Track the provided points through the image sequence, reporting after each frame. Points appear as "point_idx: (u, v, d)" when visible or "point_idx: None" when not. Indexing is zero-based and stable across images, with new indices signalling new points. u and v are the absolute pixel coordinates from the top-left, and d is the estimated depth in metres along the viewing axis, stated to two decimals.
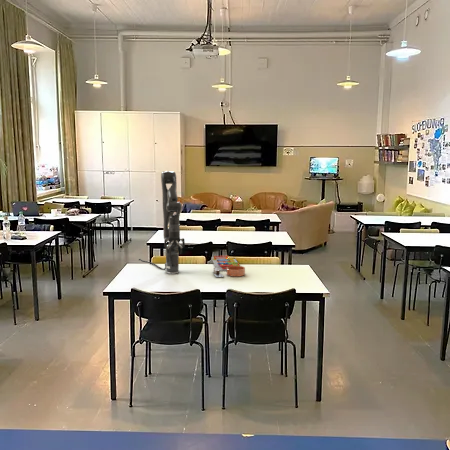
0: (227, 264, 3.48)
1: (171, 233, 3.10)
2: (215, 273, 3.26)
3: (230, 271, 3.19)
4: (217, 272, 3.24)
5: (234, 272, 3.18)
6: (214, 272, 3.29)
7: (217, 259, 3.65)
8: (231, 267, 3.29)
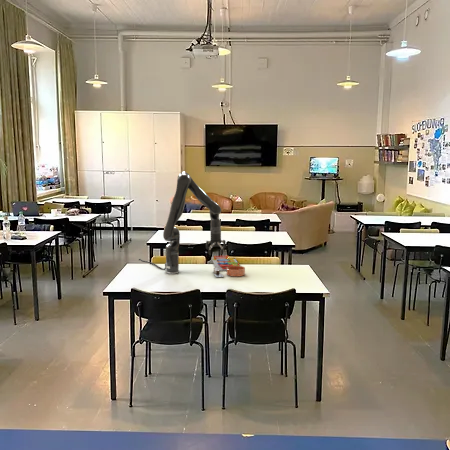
0: (227, 264, 3.48)
1: (213, 235, 3.21)
2: (215, 273, 3.26)
3: (230, 271, 3.19)
4: (217, 272, 3.24)
5: (234, 272, 3.18)
6: (214, 272, 3.29)
7: (217, 259, 3.65)
8: (231, 267, 3.29)
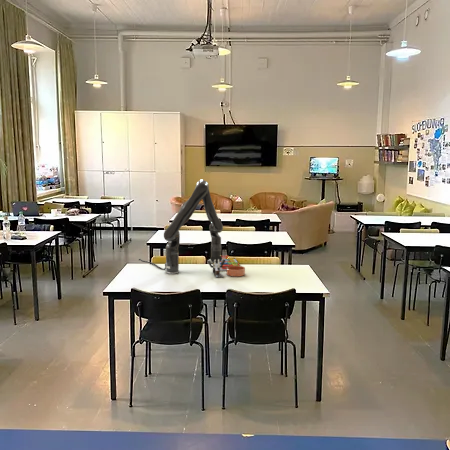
0: (227, 264, 3.48)
1: (213, 252, 3.23)
2: (215, 273, 3.26)
3: (230, 271, 3.19)
4: (217, 272, 3.24)
5: (234, 272, 3.18)
6: None
7: None
8: (231, 267, 3.29)
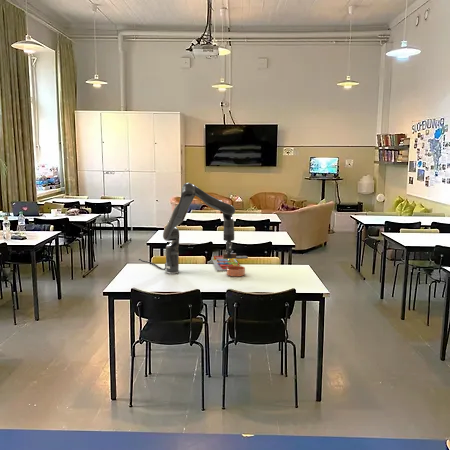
0: (227, 264, 3.48)
1: (233, 235, 3.10)
2: (232, 257, 3.14)
3: (230, 271, 3.19)
4: None
5: (234, 272, 3.18)
6: (227, 258, 3.13)
7: (217, 259, 3.65)
8: (231, 267, 3.29)
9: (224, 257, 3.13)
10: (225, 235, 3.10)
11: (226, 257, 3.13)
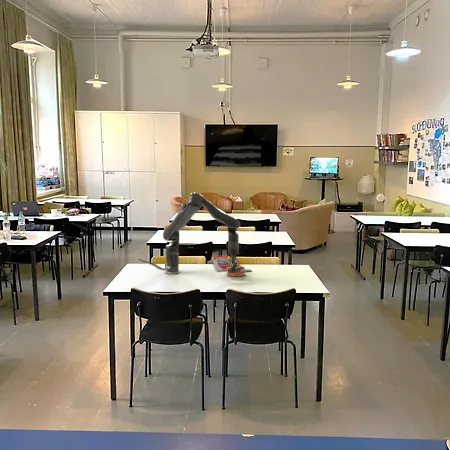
0: (227, 264, 3.48)
1: (238, 249, 3.08)
2: (237, 271, 3.11)
3: None
4: None
5: None
6: (232, 272, 3.10)
7: (217, 259, 3.65)
8: None
9: (228, 272, 3.10)
10: (230, 249, 3.06)
11: (231, 271, 3.10)
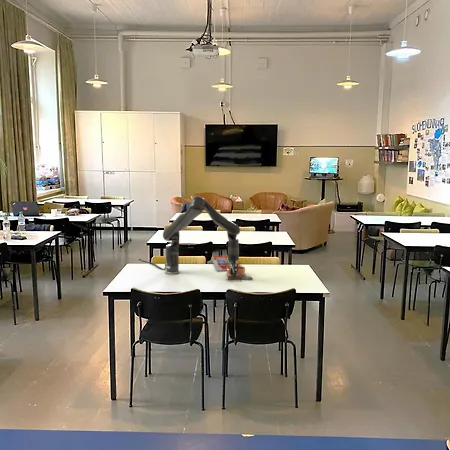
0: (227, 264, 3.48)
1: (238, 255, 3.08)
2: (237, 278, 3.12)
3: None
4: None
5: None
6: (232, 279, 3.11)
7: (217, 259, 3.65)
8: None
9: (228, 279, 3.10)
10: (230, 255, 3.07)
11: (231, 278, 3.11)
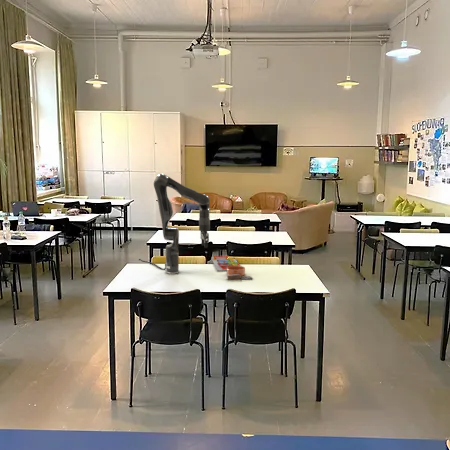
0: (227, 264, 3.48)
1: (209, 226, 3.09)
2: (237, 278, 3.12)
3: (230, 271, 3.19)
4: None
5: (234, 272, 3.18)
6: (232, 279, 3.11)
7: (217, 259, 3.65)
8: (231, 267, 3.29)
9: (228, 279, 3.10)
10: (201, 225, 3.07)
11: (231, 278, 3.11)
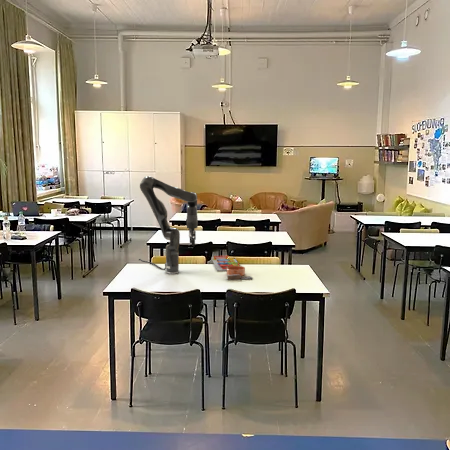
0: (227, 264, 3.48)
1: (196, 223, 3.09)
2: (237, 278, 3.12)
3: (230, 271, 3.19)
4: None
5: (234, 272, 3.18)
6: (232, 279, 3.11)
7: (217, 259, 3.65)
8: (231, 267, 3.29)
9: (228, 279, 3.10)
10: (188, 223, 3.07)
11: (231, 278, 3.11)
